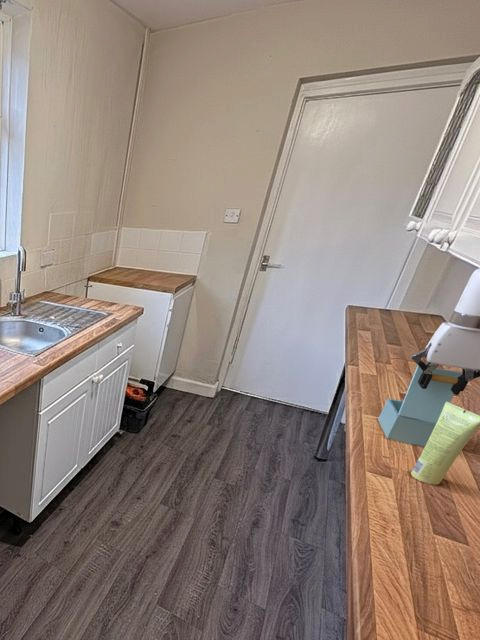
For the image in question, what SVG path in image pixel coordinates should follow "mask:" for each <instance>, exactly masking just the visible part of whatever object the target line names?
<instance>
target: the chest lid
mask: <svg viewBox="0 0 480 640" xmlns="http://www.w3.org/2000/svg"><path fill="white" fill-rule="evenodd" d="M414 370H415V371H414V373H413V376H412V378H411V380H410V383H409V386H408V388H407V391H406V393H405V396H404V398H403V400H402V401H403V403H402V406H401V408H400V411H399V413H398V415H400V416H405V417H410V418H415V419H420V420H425V421H430V422H434V423H437V421H438V419H439V417H440V415H441V412H442V410H443V407H444V405H445V403H446V402H449V403H451V402H452V399H453V398H454V395H455V394H454V393H453V392H452V391H451V388H452V386H453V384H456V383H457V382H458V378H457V377H459V376H461V375H462V371H456V370H449V369H443V368H438V367H437V368H436V369H435V370H433V371H432V375H433V376H432V378H431V380H430V382H429V384H428V386H427V388H426V389H422V388H421V387H420V385H419V384H418V380H419V378H420V376H421V374H422V372H423V370H422V369H421V368H420V367H419V365H417V366H416V369H414Z"/></svg>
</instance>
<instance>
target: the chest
mask: <svg viewBox="0 0 480 640" xmlns="http://www.w3.org/2000/svg"><path fill="white" fill-rule="evenodd" d="M403 401H404V400H398V399H392V398H387V399H386V401H385V403H384V405H383V407H382V409H381V410H382V411H381V412H380V414H379V416H378V418H377V420H378V423H379V424H380V427H381V430H382V431H383V433H384V435H385V437H386V439H388V440H392V441H397V442H401V443H405V444H409V445H414V446H419V447H423V448H425V446H426V444H427V442H428V440H429V438H430V436H431V434H432V432H433V430H434V428H435V425H436V423H434V422H430V421H425V420H420V419H415V418H410V417H405V416H400V415H398V413H399V411H400V408H401V406H402V403H403Z"/></svg>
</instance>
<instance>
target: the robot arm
mask: <svg viewBox="0 0 480 640" xmlns="http://www.w3.org/2000/svg"><path fill="white" fill-rule="evenodd" d="M409 357H410V358H411V360H412V361H413V362H414V363H415V364H416V365H417V366H419V367H420V368H421V369H422V370H423V372H422V374H421V376H420V378H419V380H418V384H419V385H420V387H421V388H422V389H426V388H427V386H428V384H429V382H430V380H431V378H432V376H433V375H432V371H433V370H435V369H436V368H437V369H438V367H439V366H445V367H452V368H458V369H461V372H462V375H461V376H459V377H457V378H458V382H457V383H456V384H453V386H452V388H451V391H452V392H453V393H454V395H456V396H459V395H460V393H461V392H464V391H465V390H466V388H467V385H469V382H472V381H473V380H474V379H478V378H480V267H479V268H477V269H475V270H474V271H473V272H472V274H471V275H470V277H469V279H468V281H467V283H466V285H465V287H464V290H463V292H462V294H461V296H460V298H459V300H458V301H457V303H456V306H455V308H454V310H453V312H452V313H451V316H450V318H449V321H448V322H447V321H443V322H442V323H441V324H440V325H439V326H438V327H437V329H436V331H435V332H434V334H433V335H432V336H431V338H430V340H429V342H428V343H427V345H426V346H425V348H423V349H421V350H419V351H417V352H415V353H413V354H411V355H410V356H409ZM422 358H425V359H426V361H427V362H426V363H425V362H424V360H422Z"/></svg>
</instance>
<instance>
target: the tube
mask: <svg viewBox="0 0 480 640" xmlns="http://www.w3.org/2000/svg"><path fill="white" fill-rule="evenodd" d="M479 427H480V415H479V414H477V413H475V412H472V411H469V410H467V409H464V408H462V407H460V406H458V405H455V404H453V403H451V402H450V403H449V402H446V403H445V405H444V407H443V410H442V412H441V415H440V417H439V419H438V421H437V423H436V425H435V428H434V430H433V432H432V434H431V436H430V438H429V440H428V442H427V444H426V446H425V447H423V450H422V452H421V453H420V455H419V457H418V459H417V461H416V463H415V465H414V466H413V468H412V470H411V471H410V475H411V476H412V477H413V478H414V479H416V480H417V481H420V482H422V483H426V484H429V485H433V486H434V485H435V486H437V485H440V483H442V481H443V479H444V477H445V476H446V474H447V473H448V471H450V468H451V467H452V465H453V464H454V462H455V461H456V459H457V458H458V456H459V454H461V452H462V451H463V449H464V447H465V446H466V445H467V443H468V442H469V440H470V439H471V438H472V436H473V435H474V434H475V432H476V431H477V430H478V429H479Z"/></svg>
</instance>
